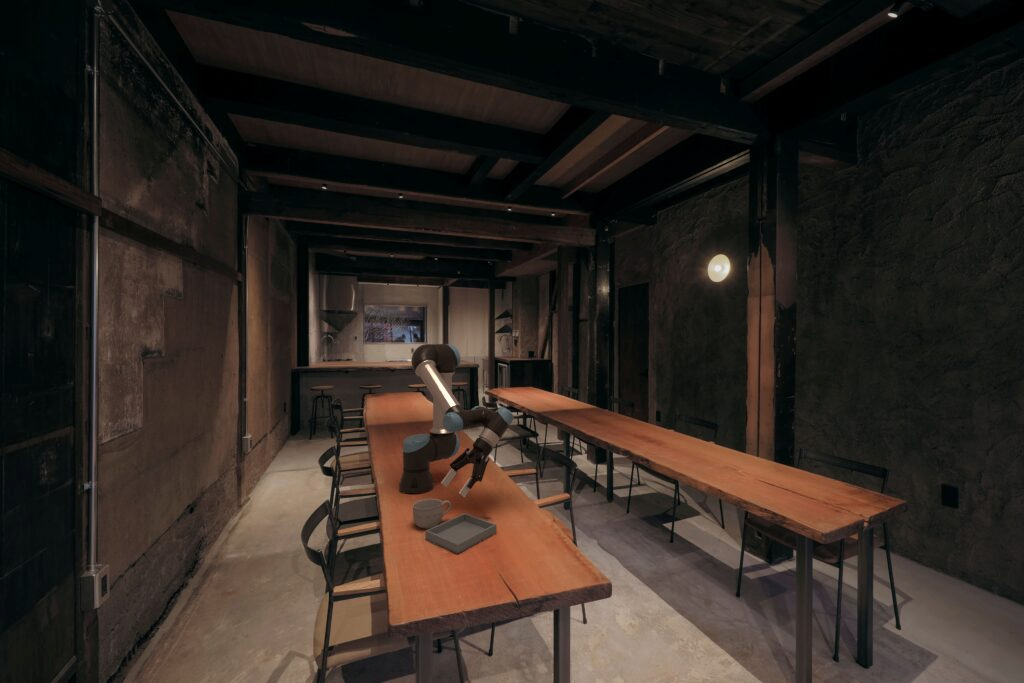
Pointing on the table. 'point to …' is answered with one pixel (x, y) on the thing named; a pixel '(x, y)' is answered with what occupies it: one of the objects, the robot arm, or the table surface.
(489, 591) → the table surface
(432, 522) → the teacup
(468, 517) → the tray
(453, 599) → the table surface
